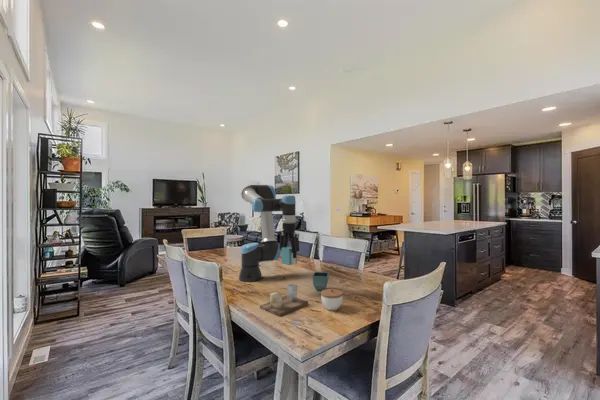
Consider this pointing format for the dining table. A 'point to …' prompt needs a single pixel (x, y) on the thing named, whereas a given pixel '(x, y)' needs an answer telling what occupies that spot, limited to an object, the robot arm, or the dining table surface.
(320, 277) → the flower pot
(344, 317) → the dining table surface
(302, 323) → the dining table surface
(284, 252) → the teal rectangular block
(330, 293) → the lidded jar
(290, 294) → the square post
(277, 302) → the cream smooth rounded part
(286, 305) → the base board
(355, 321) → the dining table surface
